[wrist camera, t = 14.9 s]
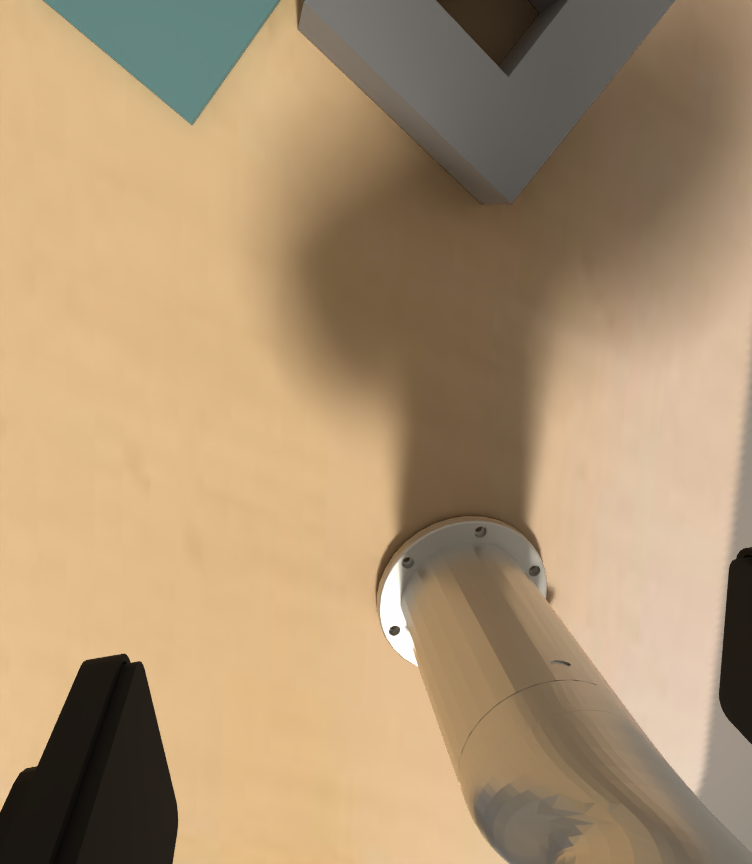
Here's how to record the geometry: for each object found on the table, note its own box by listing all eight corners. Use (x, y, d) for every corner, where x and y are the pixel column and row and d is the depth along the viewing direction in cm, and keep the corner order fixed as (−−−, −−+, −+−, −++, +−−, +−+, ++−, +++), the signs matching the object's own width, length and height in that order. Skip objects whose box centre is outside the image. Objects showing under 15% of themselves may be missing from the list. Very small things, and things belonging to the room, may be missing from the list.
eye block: (639, 6, 38) (693, -22, 33) (481, 204, 40) (511, 203, 35) (465, -207, 33) (499, -275, 29) (297, 29, 35) (303, 1, 31)
